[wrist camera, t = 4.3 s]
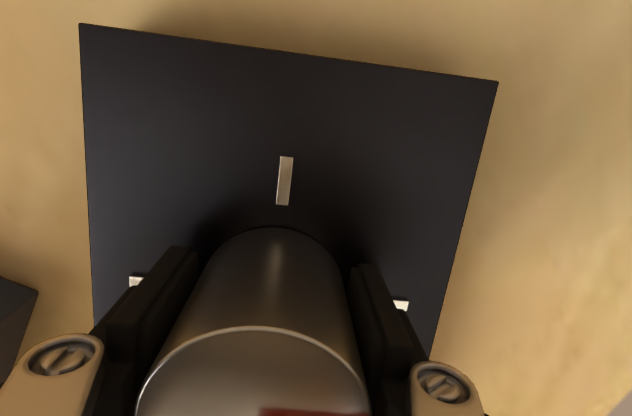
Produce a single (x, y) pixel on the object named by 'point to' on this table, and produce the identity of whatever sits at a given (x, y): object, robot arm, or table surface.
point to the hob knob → (261, 337)
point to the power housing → (13, 321)
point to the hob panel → (275, 159)
